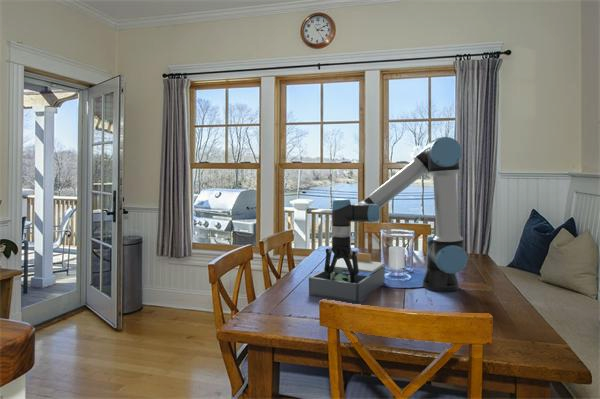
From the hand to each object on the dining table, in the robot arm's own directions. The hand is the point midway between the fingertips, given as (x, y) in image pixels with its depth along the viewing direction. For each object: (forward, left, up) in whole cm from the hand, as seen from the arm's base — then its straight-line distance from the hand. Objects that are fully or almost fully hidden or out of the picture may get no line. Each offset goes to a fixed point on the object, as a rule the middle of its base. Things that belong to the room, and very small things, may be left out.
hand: (341, 289), depth 166 cm
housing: (0, -8, -2) cm, 8 cm away
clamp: (0, 0, -1) cm, 1 cm away
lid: (0, -16, +6) cm, 17 cm away
